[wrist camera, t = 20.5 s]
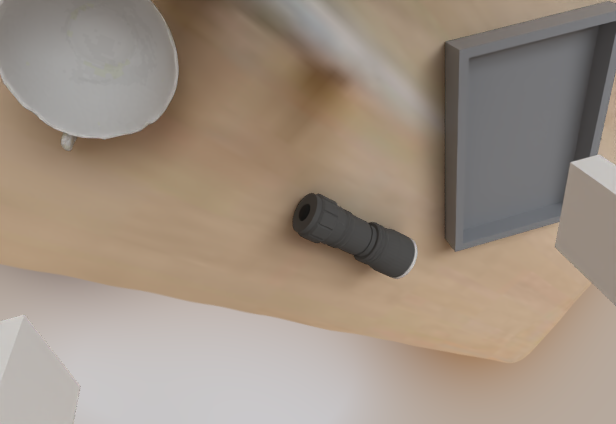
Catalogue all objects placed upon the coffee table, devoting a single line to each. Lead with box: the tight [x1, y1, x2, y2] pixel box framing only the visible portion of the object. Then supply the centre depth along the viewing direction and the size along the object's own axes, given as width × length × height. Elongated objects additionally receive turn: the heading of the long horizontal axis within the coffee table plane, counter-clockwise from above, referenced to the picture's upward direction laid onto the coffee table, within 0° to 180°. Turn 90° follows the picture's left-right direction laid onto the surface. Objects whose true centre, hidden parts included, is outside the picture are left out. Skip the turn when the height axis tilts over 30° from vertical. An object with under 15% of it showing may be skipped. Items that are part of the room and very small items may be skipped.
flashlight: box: [293, 193, 417, 279], centre depth 56 cm, size 15×5×5 cm
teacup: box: [0, 0, 179, 151], centre depth 38 cm, size 15×12×8 cm
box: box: [445, 1, 616, 252], centre depth 55 cm, size 26×18×3 cm
